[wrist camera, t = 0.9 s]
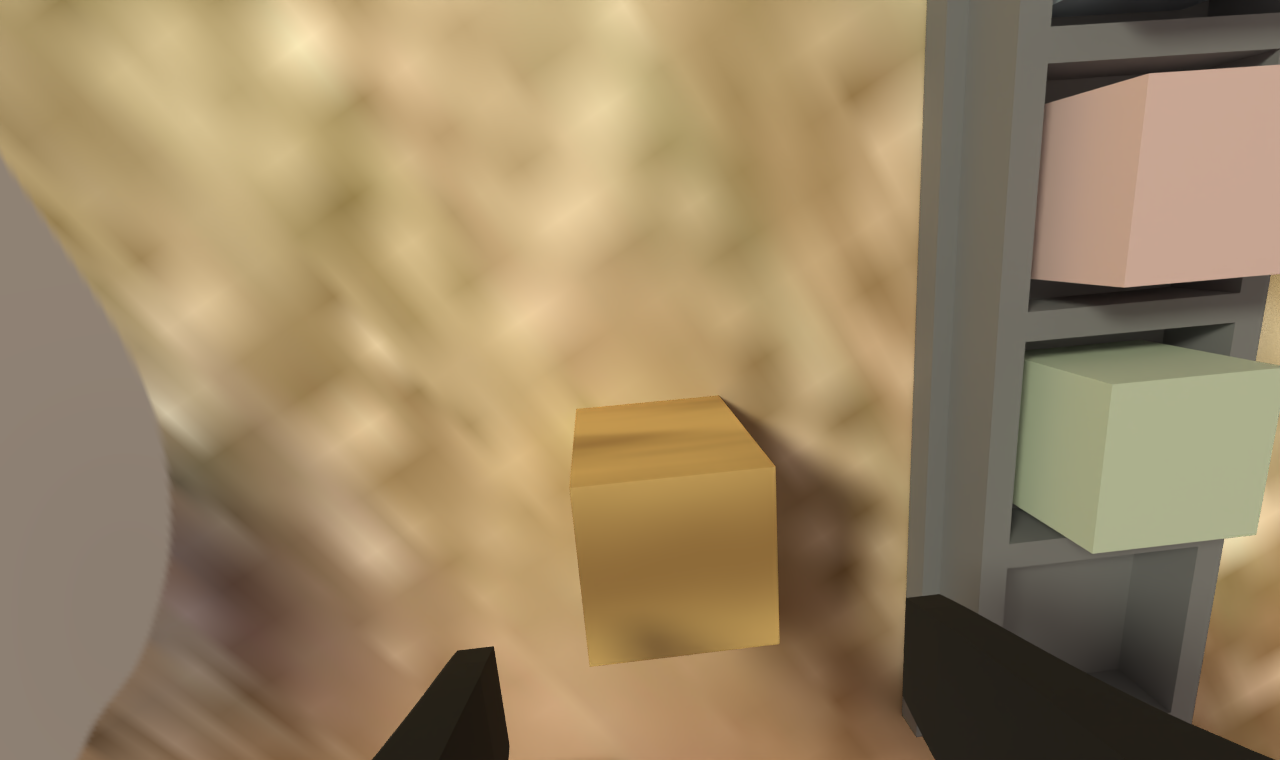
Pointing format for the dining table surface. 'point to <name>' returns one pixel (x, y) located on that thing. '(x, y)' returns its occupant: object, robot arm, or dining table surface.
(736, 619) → the ochre block
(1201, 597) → the five-cell board
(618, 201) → the dining table surface
